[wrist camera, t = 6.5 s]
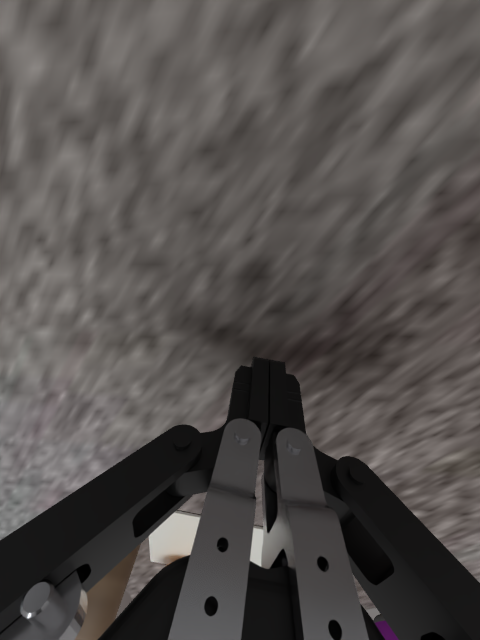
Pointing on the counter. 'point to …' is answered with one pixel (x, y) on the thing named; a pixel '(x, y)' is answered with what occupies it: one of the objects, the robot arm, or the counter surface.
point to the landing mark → (188, 539)
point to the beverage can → (384, 628)
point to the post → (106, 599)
